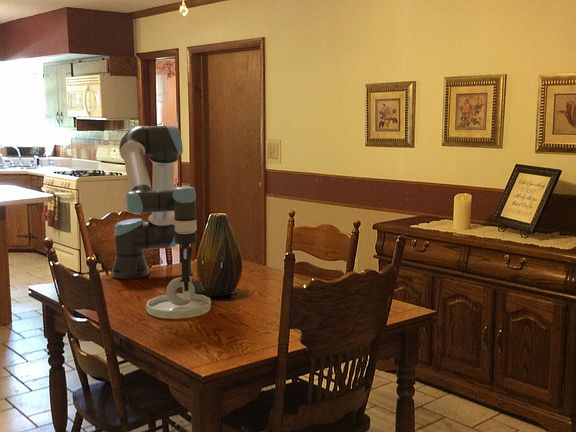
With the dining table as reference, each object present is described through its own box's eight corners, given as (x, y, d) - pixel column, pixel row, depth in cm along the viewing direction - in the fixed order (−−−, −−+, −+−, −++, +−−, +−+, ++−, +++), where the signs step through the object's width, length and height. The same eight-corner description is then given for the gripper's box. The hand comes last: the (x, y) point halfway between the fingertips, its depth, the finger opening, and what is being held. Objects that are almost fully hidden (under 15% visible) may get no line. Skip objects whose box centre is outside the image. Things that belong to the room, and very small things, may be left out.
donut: (193, 305, 239) (195, 277, 238) (193, 307, 236) (196, 279, 235) (164, 303, 237) (167, 275, 236) (165, 305, 233) (167, 277, 233)
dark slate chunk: (228, 282, 275) (227, 271, 274) (237, 296, 253) (237, 284, 253) (190, 284, 271) (189, 273, 270) (196, 299, 250) (196, 287, 249)
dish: (150, 301, 246) (150, 294, 246) (211, 299, 248) (211, 292, 248) (143, 319, 225) (143, 312, 224) (209, 317, 226) (209, 310, 226)
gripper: (176, 227, 241) (178, 290, 245) (172, 237, 223) (174, 305, 226) (197, 226, 242) (199, 289, 245) (195, 236, 223) (197, 304, 227)
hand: (187, 296), depth 236 cm, fingers open, 5 cm apart
